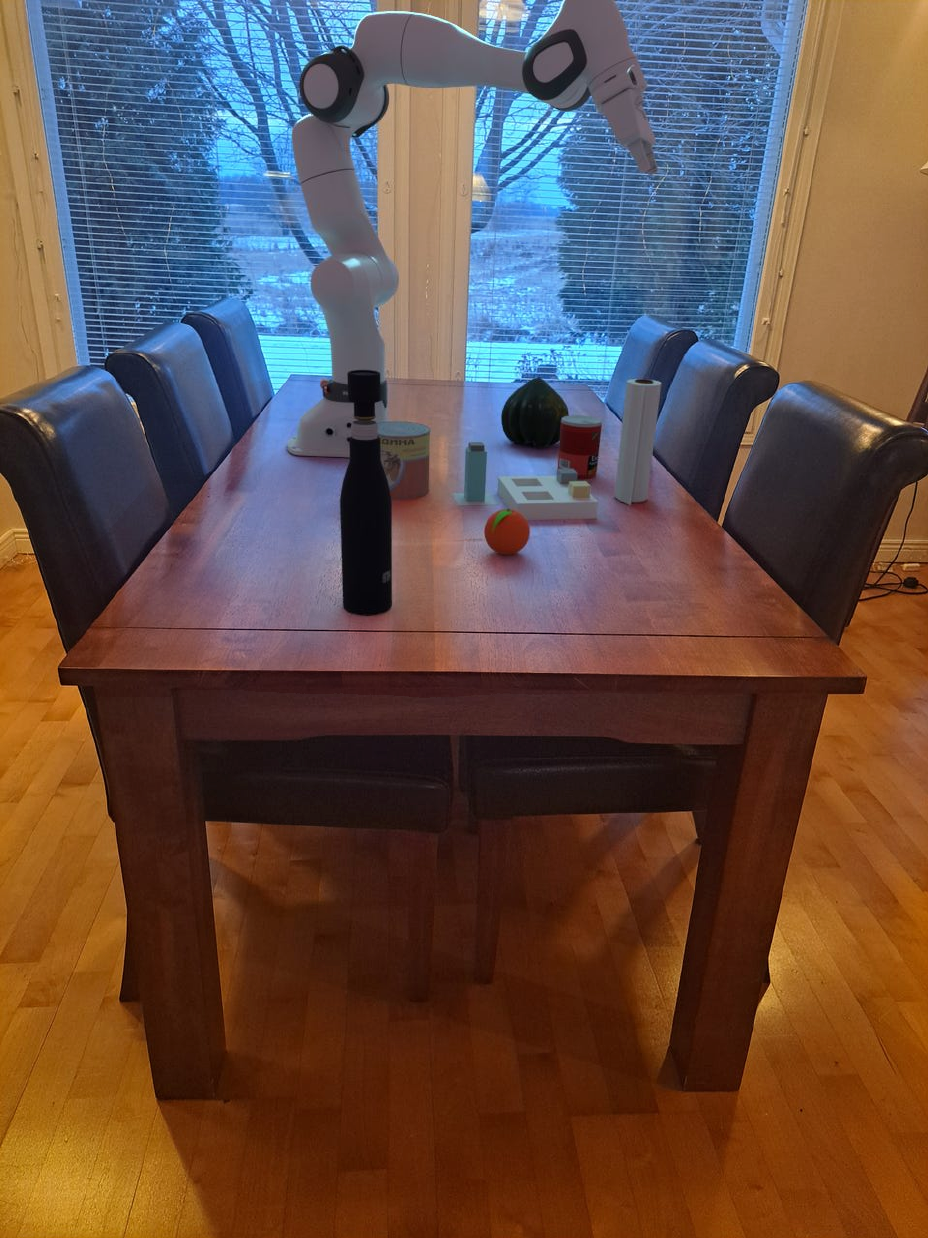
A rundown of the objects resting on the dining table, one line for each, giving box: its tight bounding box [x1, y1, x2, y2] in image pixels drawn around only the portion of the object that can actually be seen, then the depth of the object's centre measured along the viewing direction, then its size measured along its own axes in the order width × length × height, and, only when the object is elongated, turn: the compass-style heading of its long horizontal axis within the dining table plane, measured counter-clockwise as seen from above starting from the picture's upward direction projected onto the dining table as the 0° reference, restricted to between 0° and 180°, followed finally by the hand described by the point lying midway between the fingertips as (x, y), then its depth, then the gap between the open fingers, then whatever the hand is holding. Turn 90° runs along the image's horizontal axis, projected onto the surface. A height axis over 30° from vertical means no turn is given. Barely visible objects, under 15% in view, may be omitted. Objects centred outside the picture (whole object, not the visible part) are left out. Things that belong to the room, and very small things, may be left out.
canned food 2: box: [556, 414, 603, 480], centre depth 175 cm, size 8×8×11 cm
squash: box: [500, 376, 570, 449], centre depth 196 cm, size 14×15×15 cm
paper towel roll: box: [614, 378, 662, 506], centre depth 158 cm, size 7×6×21 cm
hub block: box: [496, 468, 599, 521], centre depth 155 cm, size 14×16×6 cm
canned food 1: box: [377, 420, 431, 501], centre depth 159 cm, size 11×11×12 cm
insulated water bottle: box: [339, 370, 393, 616], centre depth 110 cm, size 6×6×30 cm
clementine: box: [483, 508, 531, 556], centre depth 133 cm, size 8×7×7 cm
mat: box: [451, 492, 498, 507], centre depth 158 cm, size 7×7×1 cm
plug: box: [463, 441, 488, 502], centre depth 155 cm, size 3×3×10 cm
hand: (649, 172), depth 152 cm, fingers open, 8 cm apart
